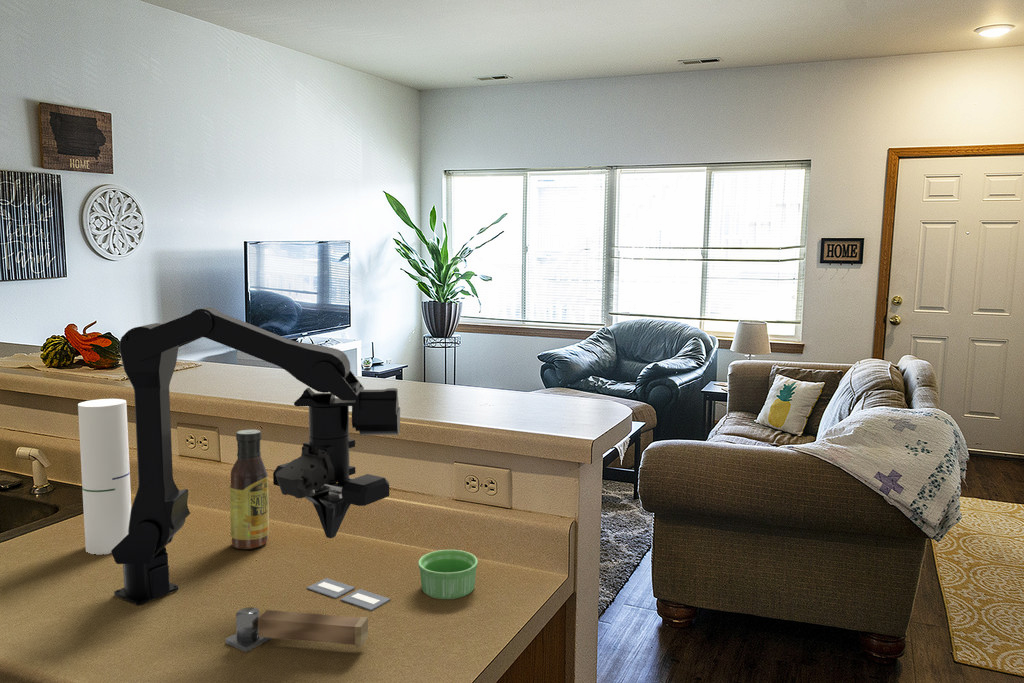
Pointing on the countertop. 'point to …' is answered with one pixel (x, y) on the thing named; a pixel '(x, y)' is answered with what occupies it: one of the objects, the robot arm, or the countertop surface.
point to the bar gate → (313, 627)
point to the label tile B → (365, 599)
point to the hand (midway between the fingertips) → (330, 537)
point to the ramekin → (448, 573)
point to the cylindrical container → (104, 473)
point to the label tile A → (330, 588)
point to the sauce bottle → (249, 494)
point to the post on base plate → (246, 630)
